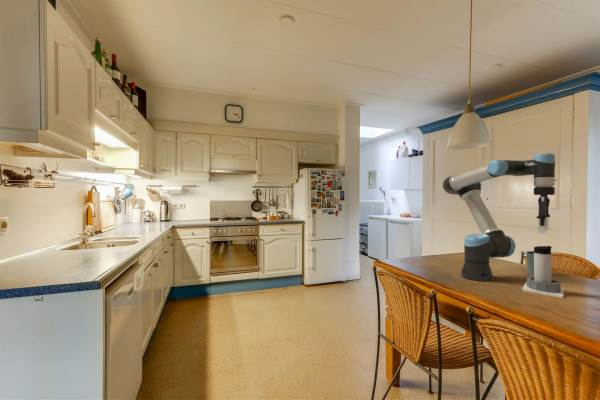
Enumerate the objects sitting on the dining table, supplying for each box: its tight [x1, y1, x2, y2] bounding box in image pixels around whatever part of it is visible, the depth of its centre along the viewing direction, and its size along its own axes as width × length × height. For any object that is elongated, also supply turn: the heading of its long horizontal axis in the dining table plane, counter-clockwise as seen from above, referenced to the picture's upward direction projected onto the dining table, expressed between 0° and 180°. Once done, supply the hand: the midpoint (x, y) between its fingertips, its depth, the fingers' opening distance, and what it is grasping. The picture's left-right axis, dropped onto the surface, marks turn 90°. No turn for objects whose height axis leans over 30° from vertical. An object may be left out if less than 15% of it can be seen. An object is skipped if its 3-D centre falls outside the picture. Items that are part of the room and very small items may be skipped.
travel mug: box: [533, 245, 553, 283], centre depth 132 cm, size 6×7×20 cm
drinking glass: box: [525, 250, 534, 275], centre depth 162 cm, size 10×10×12 cm
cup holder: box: [521, 275, 565, 299], centre depth 132 cm, size 14×14×5 cm
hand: (543, 231), depth 132 cm, fingers open, 13 cm apart
